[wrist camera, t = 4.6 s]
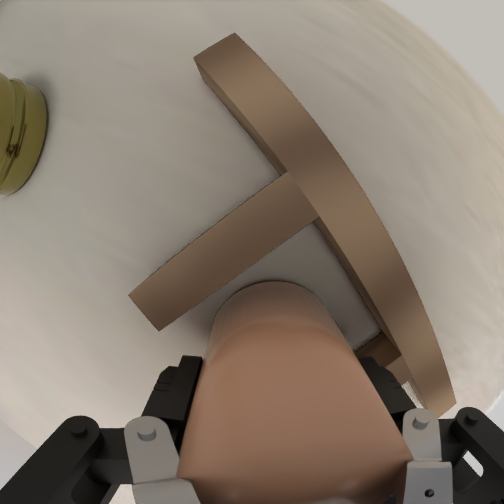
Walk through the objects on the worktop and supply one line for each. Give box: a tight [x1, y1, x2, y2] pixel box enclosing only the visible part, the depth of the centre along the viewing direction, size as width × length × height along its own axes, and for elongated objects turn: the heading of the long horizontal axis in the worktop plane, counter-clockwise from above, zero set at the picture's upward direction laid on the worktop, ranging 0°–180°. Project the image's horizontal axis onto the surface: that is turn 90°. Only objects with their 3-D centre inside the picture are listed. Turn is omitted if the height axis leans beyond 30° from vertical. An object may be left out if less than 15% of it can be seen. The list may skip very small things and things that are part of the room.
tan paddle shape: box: [176, 281, 414, 504], centre depth 9 cm, size 11×6×9 cm, turn 178°
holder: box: [128, 33, 456, 418], centre depth 12 cm, size 24×10×2 cm, turn 37°
